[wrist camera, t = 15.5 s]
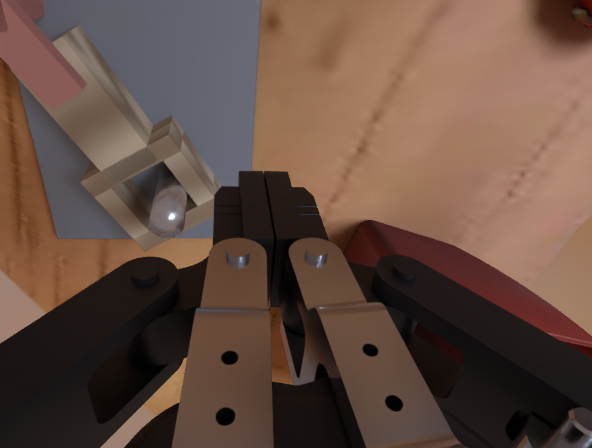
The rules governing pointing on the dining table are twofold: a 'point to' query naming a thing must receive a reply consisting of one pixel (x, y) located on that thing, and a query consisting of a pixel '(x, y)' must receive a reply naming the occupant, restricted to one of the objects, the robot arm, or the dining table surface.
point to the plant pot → (464, 282)
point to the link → (126, 144)
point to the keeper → (35, 53)
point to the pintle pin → (168, 205)
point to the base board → (155, 94)
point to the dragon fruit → (583, 12)
